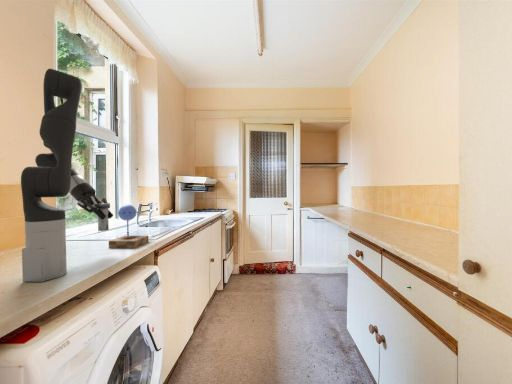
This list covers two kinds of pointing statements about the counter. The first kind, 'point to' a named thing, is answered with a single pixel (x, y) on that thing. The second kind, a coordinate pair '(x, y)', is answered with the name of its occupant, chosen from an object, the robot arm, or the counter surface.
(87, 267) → the counter surface
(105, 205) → the pin
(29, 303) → the counter surface
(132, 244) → the hole block
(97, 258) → the counter surface
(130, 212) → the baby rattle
